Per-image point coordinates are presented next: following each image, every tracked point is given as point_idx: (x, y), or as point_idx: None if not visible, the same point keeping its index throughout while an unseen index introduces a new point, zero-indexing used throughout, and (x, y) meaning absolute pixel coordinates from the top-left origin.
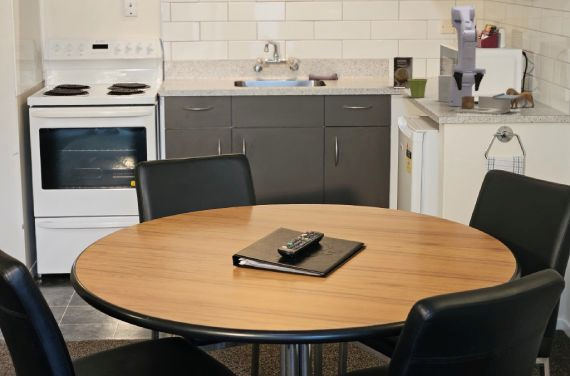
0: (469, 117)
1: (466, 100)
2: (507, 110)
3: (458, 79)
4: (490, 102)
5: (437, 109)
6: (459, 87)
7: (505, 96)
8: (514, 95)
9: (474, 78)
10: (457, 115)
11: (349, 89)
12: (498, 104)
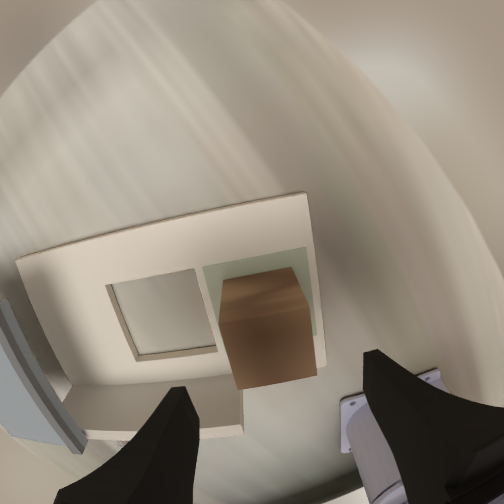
0: (70, 49)
1: (258, 302)
2: (61, 363)
3: (423, 422)
4: (157, 405)
5: (448, 243)
6: (375, 371)
7: (3, 379)
8: (21, 429)
9: (139, 484)
10: (179, 61)
11: None
12: (114, 400)
